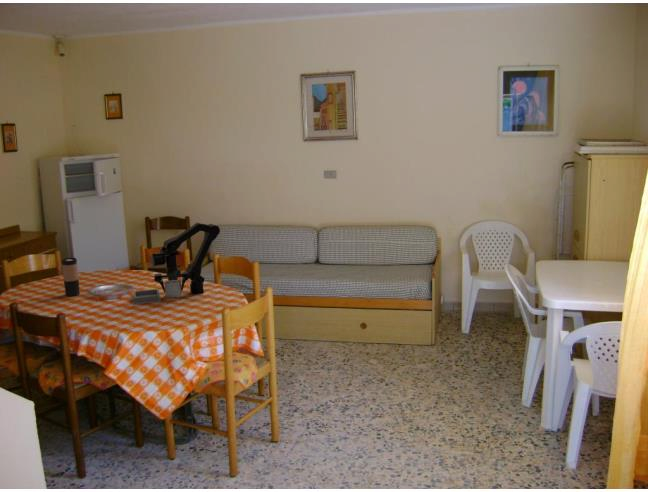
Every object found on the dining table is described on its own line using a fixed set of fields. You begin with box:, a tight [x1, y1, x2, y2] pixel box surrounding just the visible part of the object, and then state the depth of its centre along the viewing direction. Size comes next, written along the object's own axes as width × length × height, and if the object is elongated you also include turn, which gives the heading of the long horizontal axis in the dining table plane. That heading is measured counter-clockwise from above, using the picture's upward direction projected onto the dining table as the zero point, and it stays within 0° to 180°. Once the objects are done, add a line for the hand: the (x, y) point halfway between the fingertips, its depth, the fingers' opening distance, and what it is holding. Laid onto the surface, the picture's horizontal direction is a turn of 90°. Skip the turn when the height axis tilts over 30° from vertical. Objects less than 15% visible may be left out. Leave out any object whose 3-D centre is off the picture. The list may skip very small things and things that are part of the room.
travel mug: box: [61, 257, 81, 298], centre depth 361 cm, size 8×8×20 cm
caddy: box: [132, 288, 162, 305], centre depth 353 cm, size 14×16×3 cm
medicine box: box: [163, 279, 183, 298], centre depth 356 cm, size 8×4×9 cm, turn 85°
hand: (173, 291), depth 357 cm, fingers closed on medicine box, 9 cm apart
